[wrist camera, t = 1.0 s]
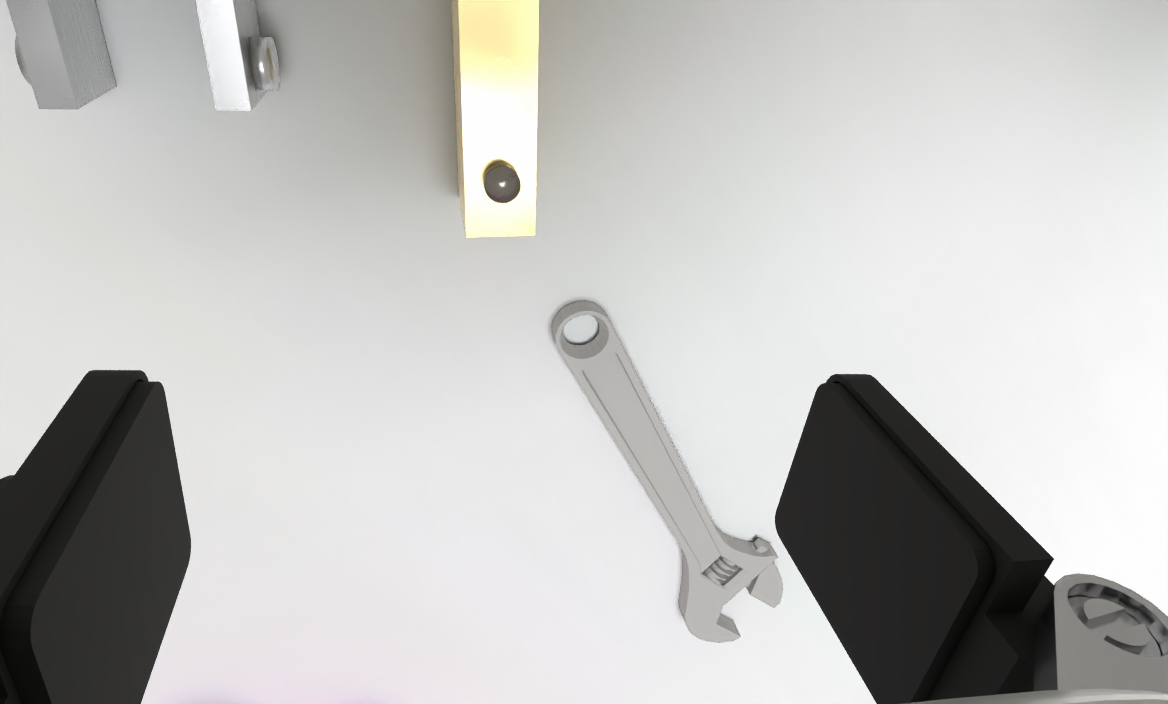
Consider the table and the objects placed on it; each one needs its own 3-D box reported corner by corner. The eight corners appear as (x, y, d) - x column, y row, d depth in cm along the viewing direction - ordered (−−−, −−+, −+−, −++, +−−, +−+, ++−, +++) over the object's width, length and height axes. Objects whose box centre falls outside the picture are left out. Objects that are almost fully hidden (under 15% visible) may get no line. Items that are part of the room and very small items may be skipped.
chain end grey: (262, -83, 23) (241, -83, 20) (286, 89, 26) (271, 111, 23) (10, -99, 22) (-51, -100, 19) (62, 85, 24) (15, 108, 22)
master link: (520, -168, 24) (545, -187, 19) (518, 194, 30) (537, 242, 25) (444, -174, 23) (453, -194, 19) (458, 195, 29) (467, 244, 25)
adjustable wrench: (536, 311, 33) (542, 330, 32) (668, 252, 33) (680, 268, 31) (690, 631, 46) (700, 655, 45) (785, 590, 46) (798, 612, 45)
